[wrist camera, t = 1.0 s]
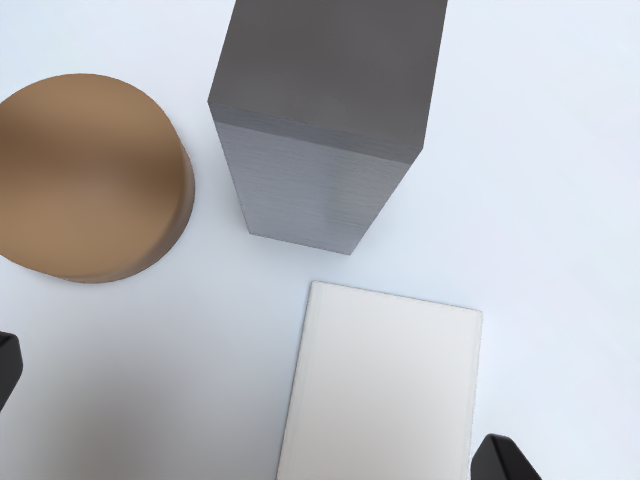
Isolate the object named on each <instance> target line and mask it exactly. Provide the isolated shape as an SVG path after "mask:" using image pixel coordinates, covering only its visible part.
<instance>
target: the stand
mask: <svg viewBox="0 0 640 480" xmlns="http://www.w3.org/2000/svg"><path fill="white" fill-rule="evenodd" d="M194 194H195V182H194V174H193V169H192V165H191V163H190V160H189V157H188V155H187V153H186V151H185V149H184V147H183V145H182V143H181V141H180V139H179V137H178V135H177V133H176V131H175V129H174V127H173V126H172V124H171V122H170V120H169V118H168V117H167V116H166V114H165V113H164V111H163V110H162V109H161V108H160V107H159V106H158V105H157V104H156V103H155V102H154V100H153V99H151V98H150V97H149V96H147V95H146V94H145V93H144V92H142V91H141V90H139V89H137V88H136V87H134V86H132V85H130V84H128V83H125V82H123V81H121V80H118V79H114V78H111V77H107V76H102V75H96V74H80V73H79V74H65V75H60V76H55V77H50V78H47V79H44V80H41V81H38V82H35V83H33V84H31V85H28V86H26V87H24V88H23V89H21V90H19V91H17V92H16V93H14V94H12V95H11V96H10V97H8V98H7V99H6V100H4V101H3V102H2V103H1V104H0V255H2V256H4V257H5V258H7V259H9V260H10V261H12V262H14V263H16V264H19V265H21V266H23V267H26V268H29V269H32V270H35V271H39V272H42V273H45V274H48V275H52V276H55V277H58V278H61V279H65V280H69V281H73V282H80V283H104V282H112V281H116V280H120V279H124V278H126V277H129V276H132V275H134V274H137V273H139V272H140V271H142V270H144V269H146V268H148V267H149V266H151V265H152V264H154V263H155V262H157V261H158V260H159V259H160V258H161V257H163V256H164V255H165V254H166V253H167V252H168V251H169V250H170V249H171V247H172V246H173V245H174V244H175V243H176V241H177V240H178V239H179V237H180V236H181V234H182V233H183V231H184V229H185V227H186V225H187V223H188V220H189V217H190V215H191V212H192V207H193V203H194Z"/></svg>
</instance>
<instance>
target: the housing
mask: <svg viewBox="0 0 640 480" xmlns="http://www.w3.org/2000/svg"><path fill="white" fill-rule="evenodd" d="M447 1H448V0H236V2H235V6H234V9H233V13H232V16H231V20H230V23H229V27H228V31H227V34H226V38H225V41H224V45H223V48H222V52H221V55H220V59H219V62H218V66H217V69H216V73H215V76H214V80H213V83H212V87H211V90H210V94H209V97H208V101H207V102H208V105H209V108H210V111H211V114H212V117H213V120H214V123H215V127H216V130H217V133H218V136H219V139H220V142H221V145H222V148H223V152H224V155H225V158H226V161H227V164H228V167H229V170H230V173H231V176H232V180H233V183H234V186H235V189H236V192H237V195H238V198H239V201H240V205H241V208H242V211H243V214H244V217H245V220H246V223H247V226H248V229H249V233H250V234H254V235H258V236H263V237H268V238H272V239H277V240H282V241H286V242H291V243H296V244H300V245H305V246H310V247H314V248H319V249H324V250H328V251H333V252H338V253H342V254H347V255H351V253H352V252H353V250H354V249H355V247H356V246H357V244H358V243H359V241H360V240H361V238H362V237H363V235H364V234H365V233H366V231H367V230H368V228H369V227H370V225H371V224H372V222H373V221H374V219H375V218H376V216H377V215H378V214H379V212H380V211H381V209H382V208H383V206H384V205H385V203H386V202H387V200H388V199H389V197H390V196H391V195H392V193H393V192H394V190H395V189H396V187H397V186H398V184H399V183H400V181H401V180H402V178H403V177H404V176H405V174H406V173H407V171H408V170H409V168H410V167H411V165H412V164H413V162H414V161H415V159H416V158H417V156H418V155H419V154H420V152H421V151H422V149H423V145H424V139H425V133H426V127H427V121H428V115H429V109H430V103H431V97H432V91H433V85H434V79H435V73H436V67H437V61H438V55H439V49H440V43H441V37H442V31H443V25H444V19H445V13H446V7H447Z"/></svg>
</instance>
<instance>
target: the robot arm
mask: <svg viewBox="0 0 640 480" xmlns="http://www.w3.org/2000/svg"><path fill="white" fill-rule="evenodd" d="M22 370H23V361H22V355H21V350H20V345H19V340H18V338H17V336H16V335H14V334H11V333H6V332H1V331H0V412H1V410H2V408H3V407H4V405H5V403H6V401H7V400H8V398H9V396H10V394H11V393H12V391H13V389H14V387H15V386H16V384H17V382H18V380H19V378H20V376H21V374H22ZM470 471H471V480H542V479H541V477H540V476H539V475H538V473H537V472H536V471H535V469H534V468H533V467H532V465H531V464H530V463H529V461H528V460H527V459H526V457H525V456H524V455H523V453H522V452H521V451H520V449H519V448H518V447H517V445H516V444H515V443H514V441H513V440H512V439H510V438H509V437H506V436H502V435H497V434H488V435H486V437H485V438H484V440H483V441H482V443H481V445H480V446H479V448H478V450H477V451H476V453H475V455H474V456H473V459H472V462H471V469H470Z"/></svg>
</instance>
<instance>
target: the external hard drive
mask: <svg viewBox="0 0 640 480" xmlns="http://www.w3.org/2000/svg"><path fill="white" fill-rule="evenodd" d="M482 322H483V312H482V311H478V310H473V309H467V308H462V307H456V306H451V305H445V304H440V303H434V302H429V301H423V300H418V299H413V298H407V297H402V296H396V295H390V294H386V293H380V292H374V291H369V290H363V289H359V288H352V287H348V286H342V285H336V284H331V283H324V282H319V281H312V283H311V287H310V293H309V299H308V304H307V310H306V315H305V320H304V327H303V332H302V338H301V344H300V350H299V355H298V361H297V366H296V372H295V378H294V383H293V389H292V394H291V400H290V406H289V411H288V417H287V422H286V428H285V433H284V439H283V445H282V450H281V456H280V461H279V467H278V472H277V478H276V480H467V474H468V464H469V454H470V444H471V434H472V424H473V414H474V404H475V395H476V385H477V374H478V363H479V351H480V342H481V332H482Z"/></svg>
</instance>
